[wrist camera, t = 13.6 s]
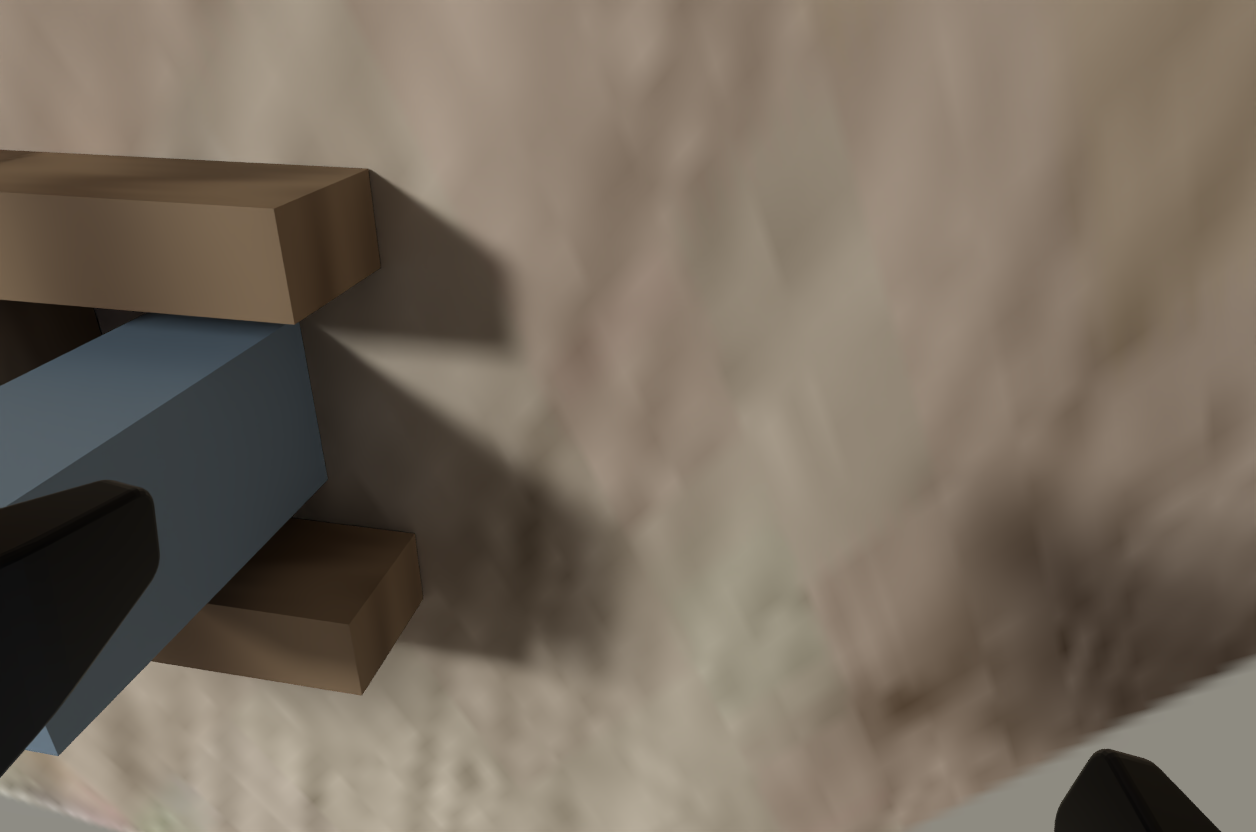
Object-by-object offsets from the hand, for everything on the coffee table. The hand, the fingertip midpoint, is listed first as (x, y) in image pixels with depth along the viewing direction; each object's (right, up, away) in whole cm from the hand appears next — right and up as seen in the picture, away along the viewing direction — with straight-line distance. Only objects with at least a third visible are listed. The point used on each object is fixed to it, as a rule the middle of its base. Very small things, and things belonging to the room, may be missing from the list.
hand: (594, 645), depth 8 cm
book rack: (-10, +3, +16) cm, 19 cm away
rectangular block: (-10, +3, +16) cm, 19 cm away
